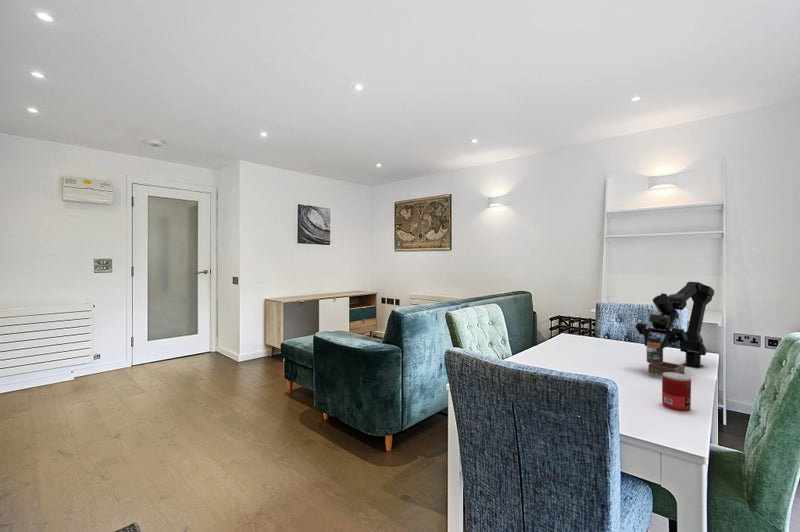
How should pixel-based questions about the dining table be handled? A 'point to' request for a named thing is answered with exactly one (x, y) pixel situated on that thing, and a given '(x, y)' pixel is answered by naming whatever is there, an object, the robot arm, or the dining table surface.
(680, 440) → the dining table surface
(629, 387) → the dining table surface
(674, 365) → the walnut socket holder
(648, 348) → the supplement bottle
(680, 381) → the canned food
